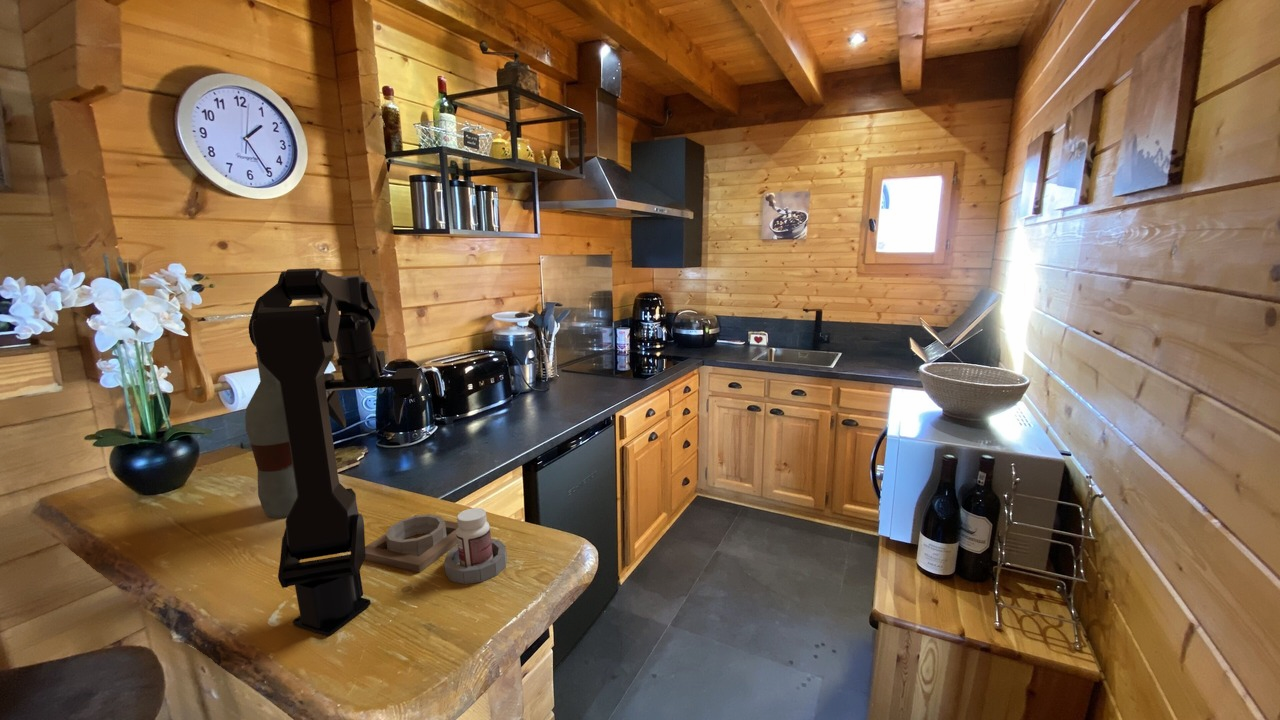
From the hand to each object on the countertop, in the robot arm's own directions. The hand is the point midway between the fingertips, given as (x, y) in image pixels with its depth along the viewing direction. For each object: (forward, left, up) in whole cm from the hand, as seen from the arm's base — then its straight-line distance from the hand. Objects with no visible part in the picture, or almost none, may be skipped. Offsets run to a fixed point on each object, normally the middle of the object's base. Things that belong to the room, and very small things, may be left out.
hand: (371, 425), depth 97 cm
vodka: (-7, +15, -15) cm, 23 cm away
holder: (-12, -31, -15) cm, 37 cm away
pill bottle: (-12, -31, -15) cm, 37 cm away
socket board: (-10, -18, -15) cm, 26 cm away
